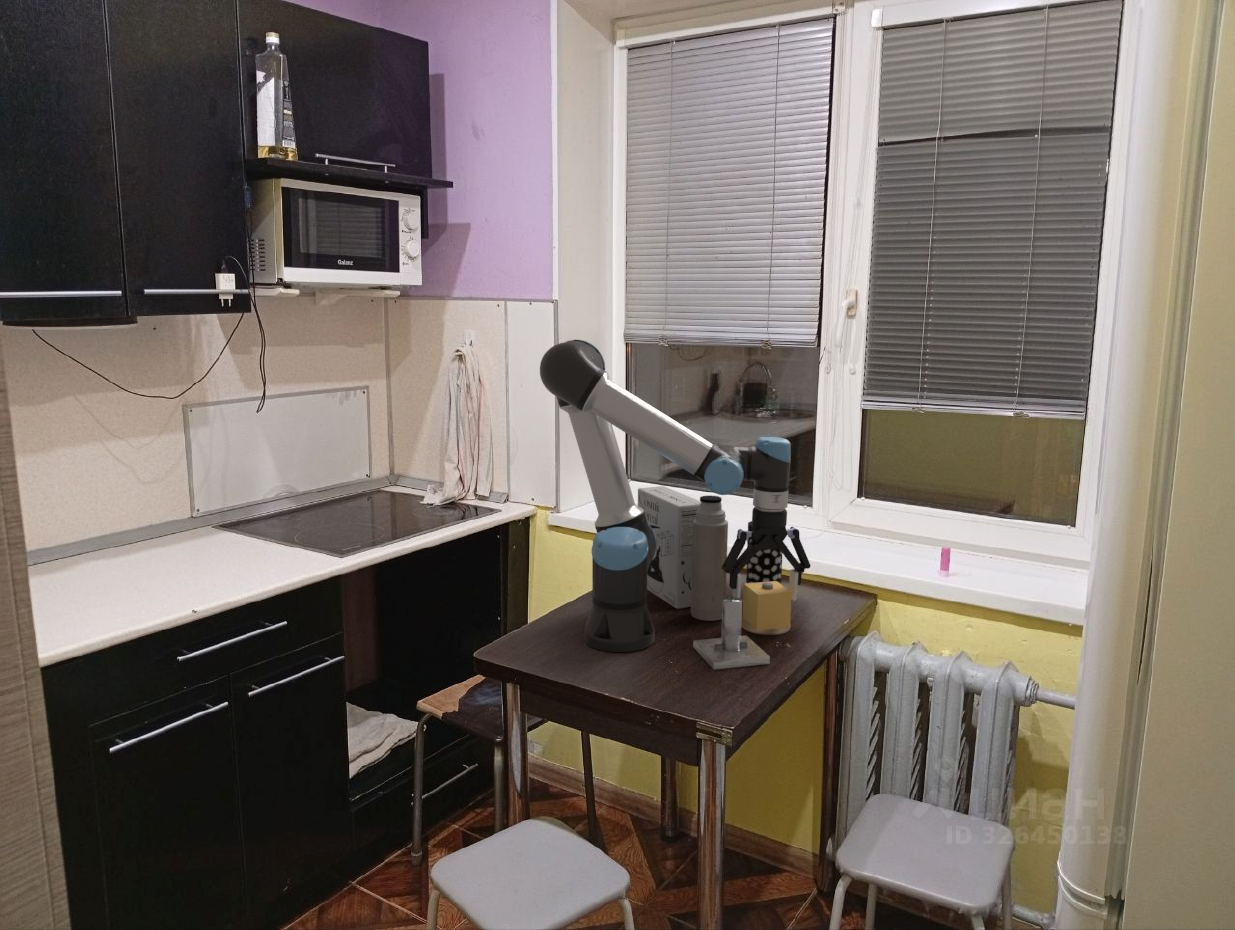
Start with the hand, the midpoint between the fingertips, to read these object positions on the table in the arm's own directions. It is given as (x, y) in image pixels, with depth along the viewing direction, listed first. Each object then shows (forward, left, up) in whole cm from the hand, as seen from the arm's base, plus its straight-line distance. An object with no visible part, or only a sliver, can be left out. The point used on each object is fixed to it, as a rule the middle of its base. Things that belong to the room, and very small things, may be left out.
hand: (764, 600), depth 205 cm
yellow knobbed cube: (0, 0, -5) cm, 5 cm away
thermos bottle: (-10, +10, -6) cm, 15 cm away
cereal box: (-14, +26, -6) cm, 30 cm away
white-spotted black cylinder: (+5, +13, -6) cm, 15 cm away
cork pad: (0, 0, -6) cm, 6 cm away
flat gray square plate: (-14, -14, -6) cm, 21 cm away
